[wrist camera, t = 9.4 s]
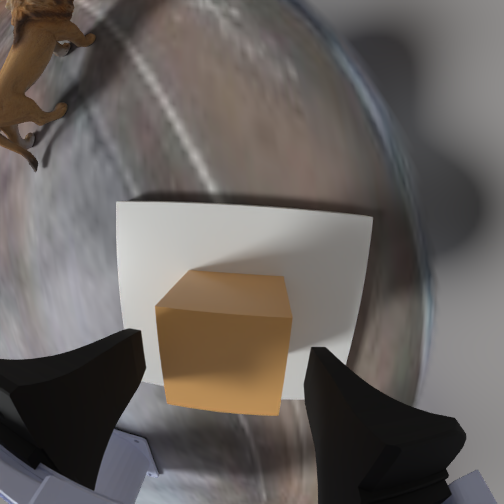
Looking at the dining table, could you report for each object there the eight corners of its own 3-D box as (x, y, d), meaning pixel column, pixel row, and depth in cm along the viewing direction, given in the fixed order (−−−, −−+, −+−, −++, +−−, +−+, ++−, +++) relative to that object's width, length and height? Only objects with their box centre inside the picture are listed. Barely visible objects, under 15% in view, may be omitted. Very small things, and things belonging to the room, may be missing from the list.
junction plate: (140, 367, 18) (112, 410, 13) (128, 200, 15) (79, 205, 10) (331, 385, 17) (346, 434, 12) (363, 215, 15) (403, 225, 10)
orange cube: (191, 349, 15) (167, 403, 11) (189, 270, 14) (154, 306, 10) (275, 356, 15) (278, 415, 10) (283, 276, 14) (292, 317, 9)
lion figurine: (67, 17, 12) (10, -21, 3) (114, 2, 12) (59, -53, 3) (23, 172, 15) (-63, 175, 6) (64, 171, 15) (-38, 171, 6)
